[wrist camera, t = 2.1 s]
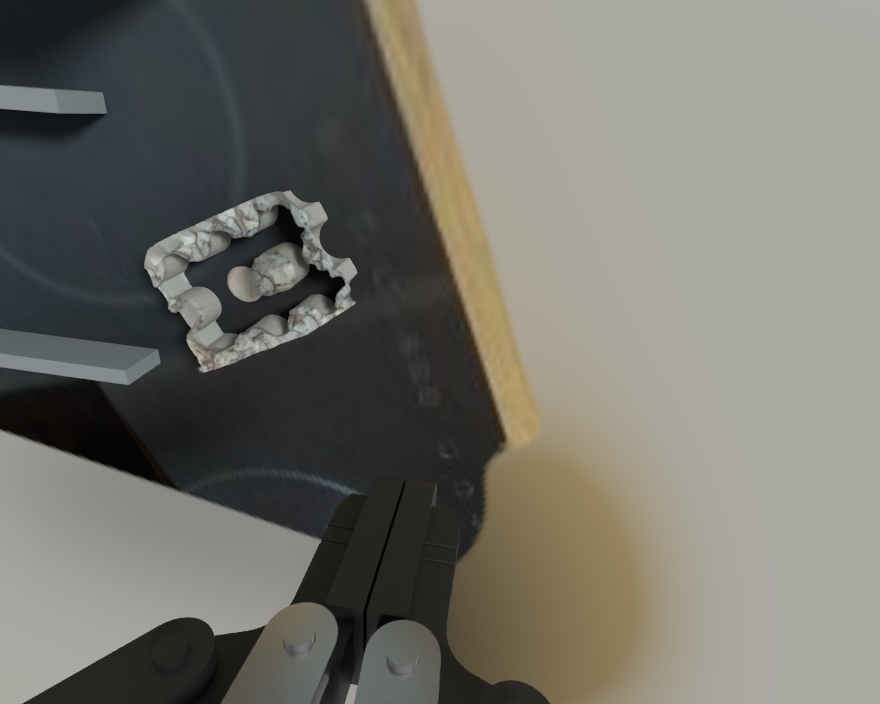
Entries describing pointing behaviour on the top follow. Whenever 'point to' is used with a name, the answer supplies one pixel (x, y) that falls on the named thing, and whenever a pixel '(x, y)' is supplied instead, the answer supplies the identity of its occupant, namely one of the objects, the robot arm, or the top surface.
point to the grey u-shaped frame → (54, 350)
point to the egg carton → (248, 278)
